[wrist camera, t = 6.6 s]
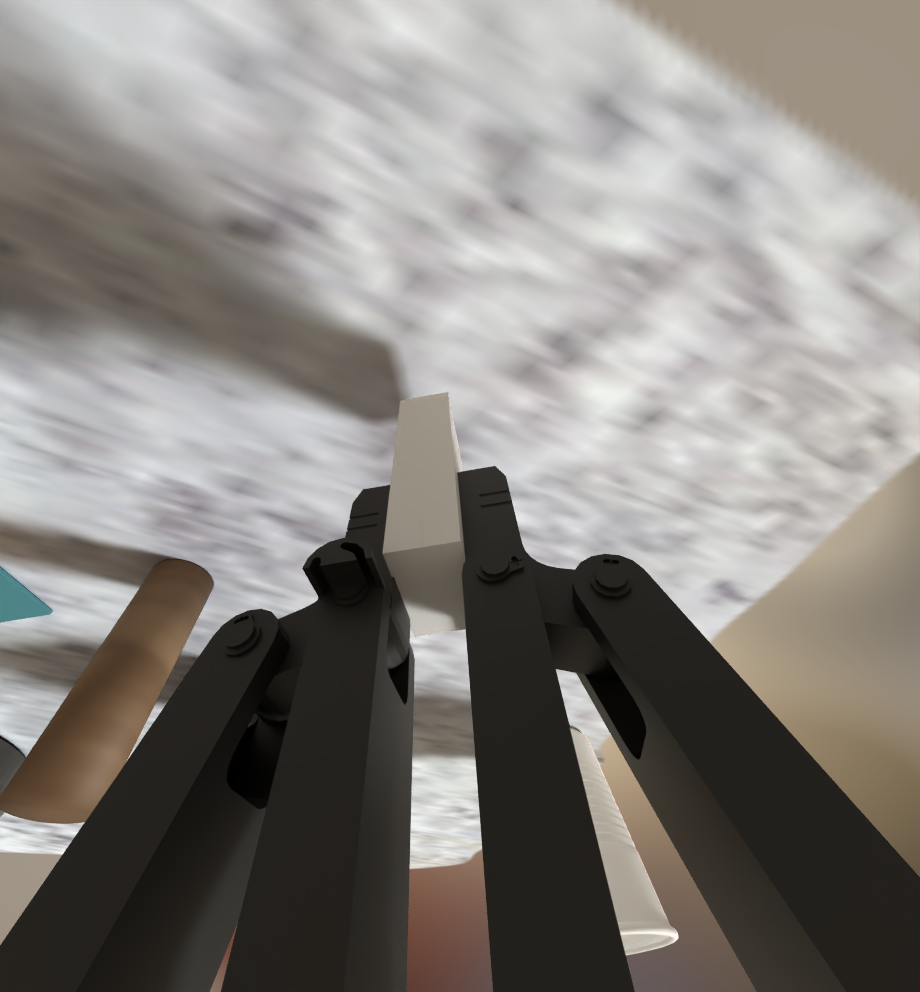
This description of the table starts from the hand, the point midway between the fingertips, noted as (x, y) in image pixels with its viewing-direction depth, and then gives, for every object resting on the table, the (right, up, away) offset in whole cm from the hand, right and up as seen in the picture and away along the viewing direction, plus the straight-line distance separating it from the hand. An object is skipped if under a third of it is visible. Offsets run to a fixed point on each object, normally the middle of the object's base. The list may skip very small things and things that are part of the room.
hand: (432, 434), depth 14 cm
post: (-12, -6, +6) cm, 15 cm away
